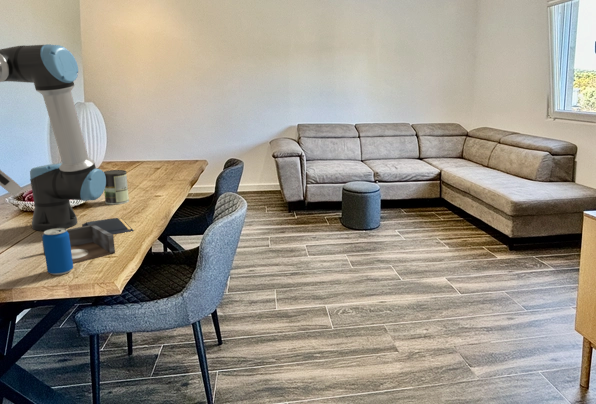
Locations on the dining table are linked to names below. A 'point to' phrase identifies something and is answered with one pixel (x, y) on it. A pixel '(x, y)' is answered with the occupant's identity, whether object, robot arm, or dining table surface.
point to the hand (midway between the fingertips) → (16, 190)
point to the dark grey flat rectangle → (111, 225)
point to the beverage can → (57, 251)
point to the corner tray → (89, 243)
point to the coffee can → (116, 187)
